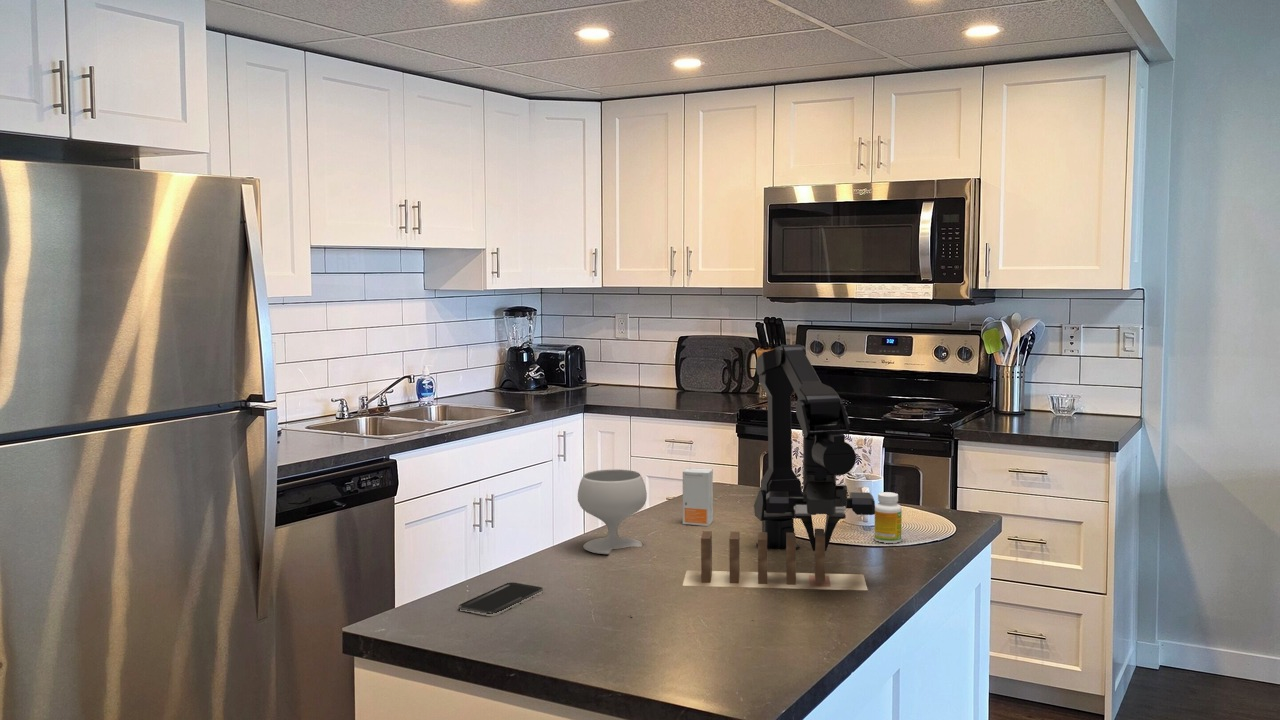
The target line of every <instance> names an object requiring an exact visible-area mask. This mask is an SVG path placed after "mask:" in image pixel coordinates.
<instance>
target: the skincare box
mask: <svg viewBox="0 0 1280 720" xmlns="http://www.w3.org/2000/svg"><path fill="white" fill-rule="evenodd" d="M713 475H714V470H713V469H712V468H692V467H686V469H684V470H683V471H682V525H692V526H700V527H701V526H704V527H709V526H710V525H711V524H712V523H713V520H714V517H713V516H714V513H713V509H714V508H713V507H714V504H713V503H714V498H713V491H714V490H713V489H714V487H713V486H714V485H713V484H714V482H713V479H714V476H713Z"/></svg>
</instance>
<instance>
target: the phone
mask: <svg viewBox="0 0 1280 720" xmlns="http://www.w3.org/2000/svg"><path fill="white" fill-rule="evenodd" d="M541 591H544V588H543V587H542V586H537V585H536V586H535V585H532V584H531V585H530V584H526V583H525V584H524V583H519V582H507V583H504V584H502V585H500V586H498V587H495V588H493V589H491V590H489V591H486V592H484V593H482V594H480V595H477V596H475V597H474V598H471V599H469V600H467V601H465V602H463V603H460V604H459V605H458V610H459V609H461V610H467V611H474V612H480V613H486V614H493V613H497V612H499V611H502V610H504V609H506V608H508V607H510V606H512V605H514V604H516V603H519V602H521V601H522V600H524V599H527V598H529V597H531V596H533V595H535V594H537V593H539V592H541Z"/></svg>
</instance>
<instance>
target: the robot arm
mask: <svg viewBox="0 0 1280 720" xmlns="http://www.w3.org/2000/svg"><path fill="white" fill-rule="evenodd" d="M755 363H756V364H755V367H756V368H755V369H756V374H757V375H758V382H759V384H760V386H761V387H762V389H763V390H764V392H765V394H766V395H767V440H768V443H767V446H768V449H767V451H768V452H767V453H768V455H767V456H768V468H767V469H766V471H765V473H764V475H763V476H762V478H761V480H760V490H759V491H758V493H757V495H756V499H755V501H754V504H753V508H754V509H753V510H754V517H756V519H758V520H759V521H761V524H762V525H761V526H762V527H761V528H762V531H761V532H767V550H786V533H795V527H794V526H795V525H794V522H795V520H796V519H798V520H801V522H802V524H803V526H804V528H805V530H806V533H807V536H808V539H809V542H810V545H811V548H812V551H813V552H815V529H814V525H813V518H812V517H813V516H816V515H826V518H825V527H824V533H825V552H827V550H828V547H829V544H830V542H831V538H832V535H833V532H834V530H835V528H836V526H837V524H838V523H839V522H840V520H845V519H846V518H847V517H846V516H847V515H846V512H845V511H847V509H851V510H852V512H853V513H855V514H856V516H858V515H859V516H872V515H873V516H875V506H876V504H875V503H876V502H875V499H874V496H873V495H872V493H870V492H859V491H858V492H855V491H853V492H850V493H849V497H848V486H847V485H842V484H840V485H839V484H837V476H844V475H847V474H848V473H850V472H851V471H852V470H853V468H854V467H855V464H856V462H857V461H856V460H857V455H856V451H855V450H854V448H853V446H852V445H851V444H849V443H848V442H846V438H845V437H846V436H845V435H849V434H850V433H851V432H850V426H851V421H850V419H849V415H848V412H847V410H846V406H845V404H844V402H843V400H842V398H840V395H839V394H838V393H837V391H835V389H834V388H833V387H831V386H830V385H827V384H824V383H822V381H821V380H820V378H819V376H818V374H817V372H816V370H815V368H814V367H813V365H812V364H811V362H810V359H809V358H808V356H807V350H806V347H805V345H801V344H798V343H797V344H781V345H780V346H779V345H778V346H776V347H775V348H773V349H771V350H767V351H763V352H762V353H761V354H760V355H759V356H758V357H756V362H755ZM794 392H795V395H796V396H797V400H796V403H795V413H796V418H797V420H798V423H799V426H800V429H801V434H802V435H803V437H802V440H803V441H802V447H803V448H802V449H803V450H802V451H803V452H802V453H803V455H802V457H803V458H802V461H803V463H802V466H803V467H802V469H803V470H802V482H801V480H800V478H799V477H798V476H797V475H796V474H795V472H794V470H793V450H792V449H793V446H792V445H793V443H792V441H793V439H792V437H793V436H792V435H793V434H792V396H793V394H794ZM802 483H803V485H802ZM802 488H803V489H802ZM794 519H795V520H794ZM755 544H756V546H757V547H758V542H756V543H755ZM800 548H801V545H799V544H797V543H796V550H798V549H800Z"/></svg>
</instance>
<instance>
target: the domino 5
mask: <svg viewBox="0 0 1280 720" xmlns="http://www.w3.org/2000/svg"><path fill="white" fill-rule="evenodd" d="M814 537H815V551H814V573H815V580H816V581H825V574H826V551H825V528H814Z"/></svg>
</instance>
